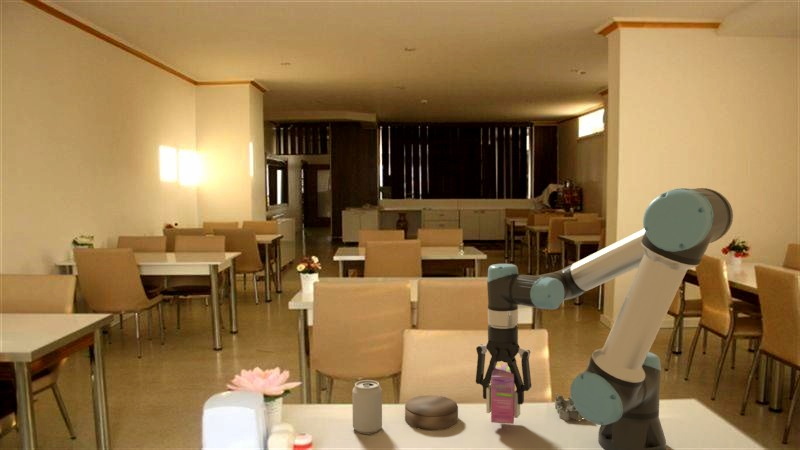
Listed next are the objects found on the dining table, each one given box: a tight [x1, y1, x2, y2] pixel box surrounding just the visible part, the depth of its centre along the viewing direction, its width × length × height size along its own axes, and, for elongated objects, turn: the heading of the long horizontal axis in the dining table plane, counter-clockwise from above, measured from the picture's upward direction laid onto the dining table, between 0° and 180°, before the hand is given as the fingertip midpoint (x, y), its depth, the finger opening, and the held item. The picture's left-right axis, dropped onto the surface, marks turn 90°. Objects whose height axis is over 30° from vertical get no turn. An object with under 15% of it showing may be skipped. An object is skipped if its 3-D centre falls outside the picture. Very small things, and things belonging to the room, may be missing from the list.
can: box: [351, 379, 383, 435], centre depth 154 cm, size 8×8×12 cm
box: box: [490, 363, 516, 425], centre depth 155 cm, size 10×6×12 cm, turn 168°
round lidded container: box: [404, 394, 459, 432], centre depth 160 cm, size 14×14×4 cm
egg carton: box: [554, 392, 584, 421], centre depth 164 cm, size 11×8×4 cm
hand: (503, 413), depth 155 cm, fingers closed on box, 7 cm apart
